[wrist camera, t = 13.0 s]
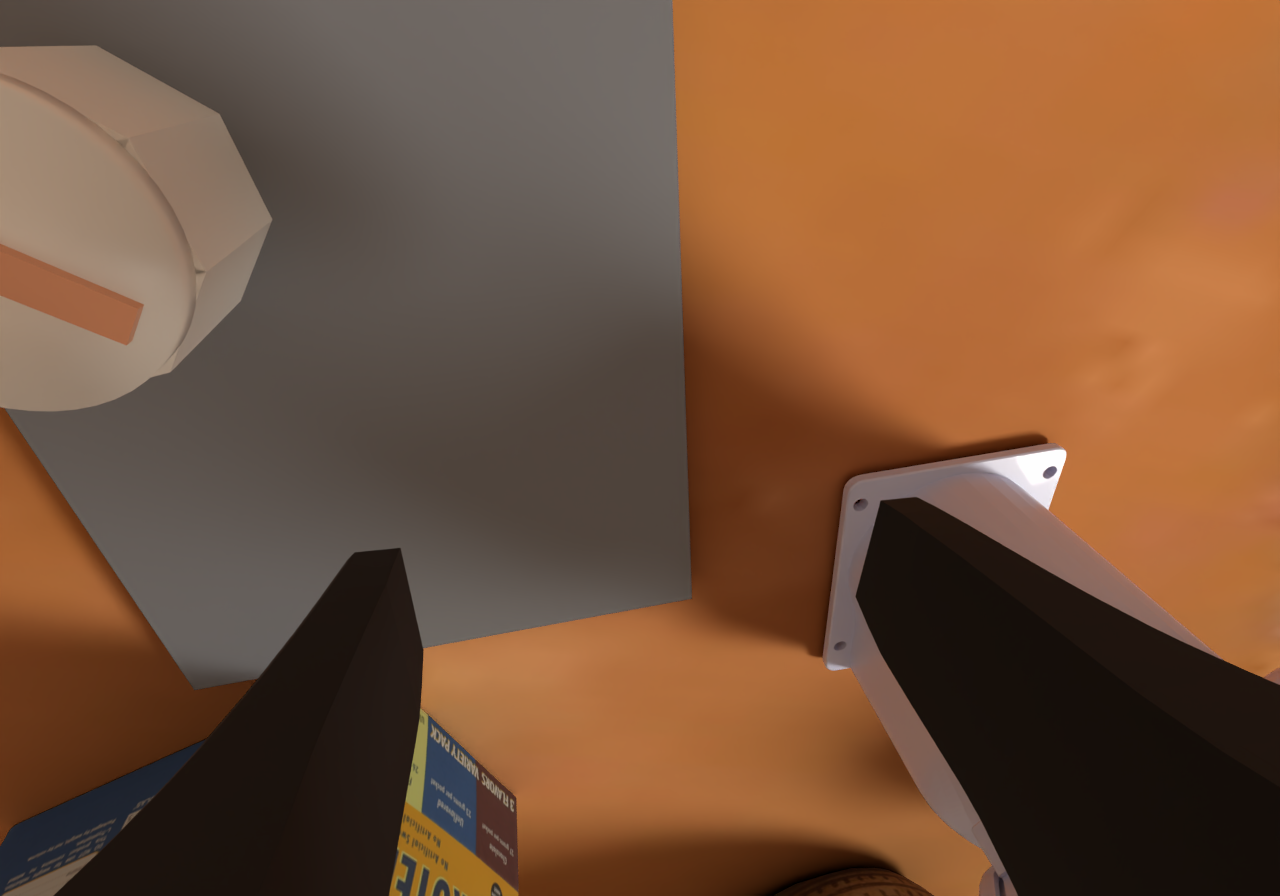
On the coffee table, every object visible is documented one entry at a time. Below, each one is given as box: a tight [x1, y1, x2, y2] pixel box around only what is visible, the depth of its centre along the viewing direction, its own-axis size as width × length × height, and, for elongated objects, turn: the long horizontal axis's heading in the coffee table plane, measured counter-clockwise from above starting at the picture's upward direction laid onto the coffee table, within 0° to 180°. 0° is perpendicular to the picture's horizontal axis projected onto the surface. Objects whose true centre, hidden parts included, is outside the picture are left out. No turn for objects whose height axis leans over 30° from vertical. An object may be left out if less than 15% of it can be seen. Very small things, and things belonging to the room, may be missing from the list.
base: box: [0, 0, 692, 690], centre depth 15 cm, size 20×16×4 cm
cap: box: [0, 45, 272, 411], centre depth 11 cm, size 5×5×5 cm
